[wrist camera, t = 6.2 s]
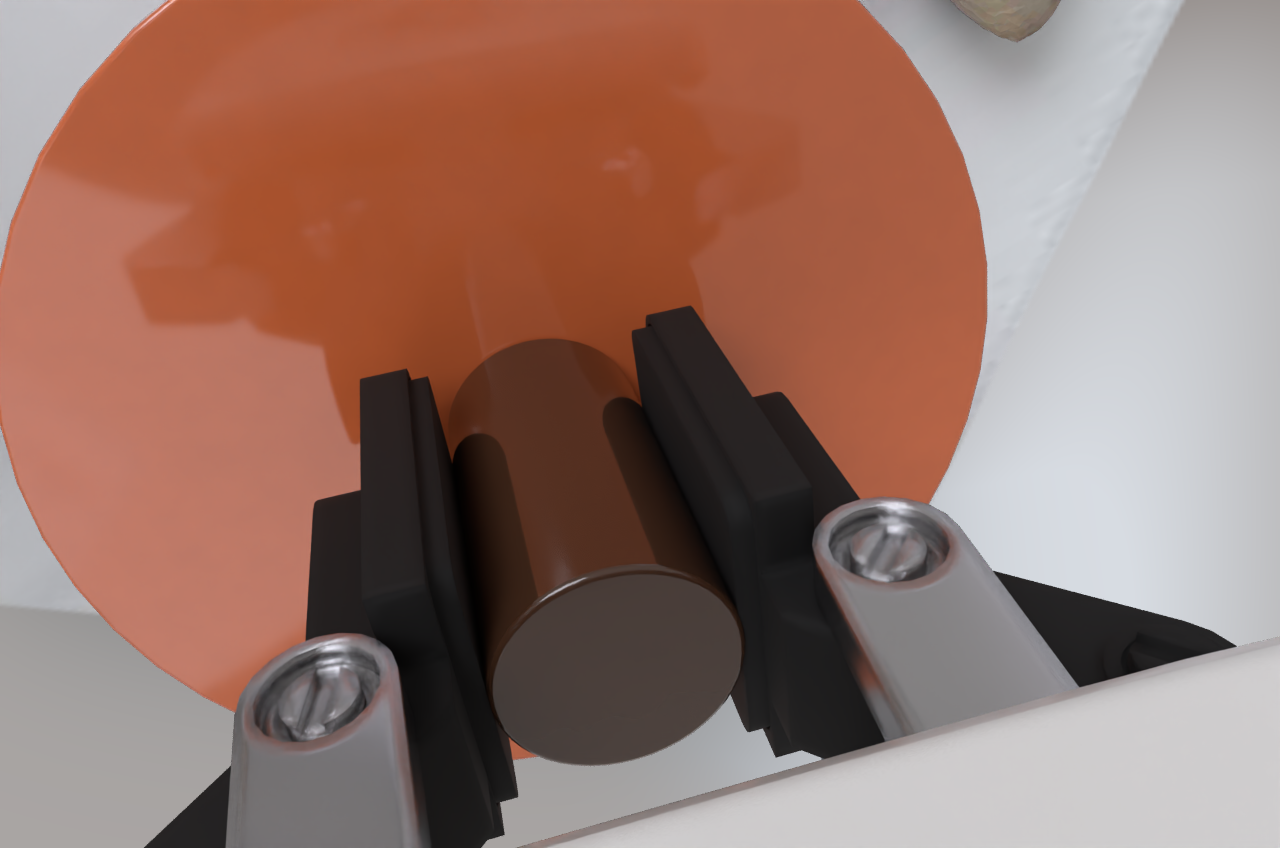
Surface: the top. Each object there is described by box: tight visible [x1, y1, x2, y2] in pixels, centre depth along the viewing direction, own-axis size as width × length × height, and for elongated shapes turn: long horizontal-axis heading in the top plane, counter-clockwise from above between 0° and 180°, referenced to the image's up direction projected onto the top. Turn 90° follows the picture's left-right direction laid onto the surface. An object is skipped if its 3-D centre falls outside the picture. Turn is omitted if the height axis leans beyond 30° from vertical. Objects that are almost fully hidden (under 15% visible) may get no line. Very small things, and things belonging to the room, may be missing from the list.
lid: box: [0, 0, 987, 766], centre depth 12 cm, size 12×12×6 cm
